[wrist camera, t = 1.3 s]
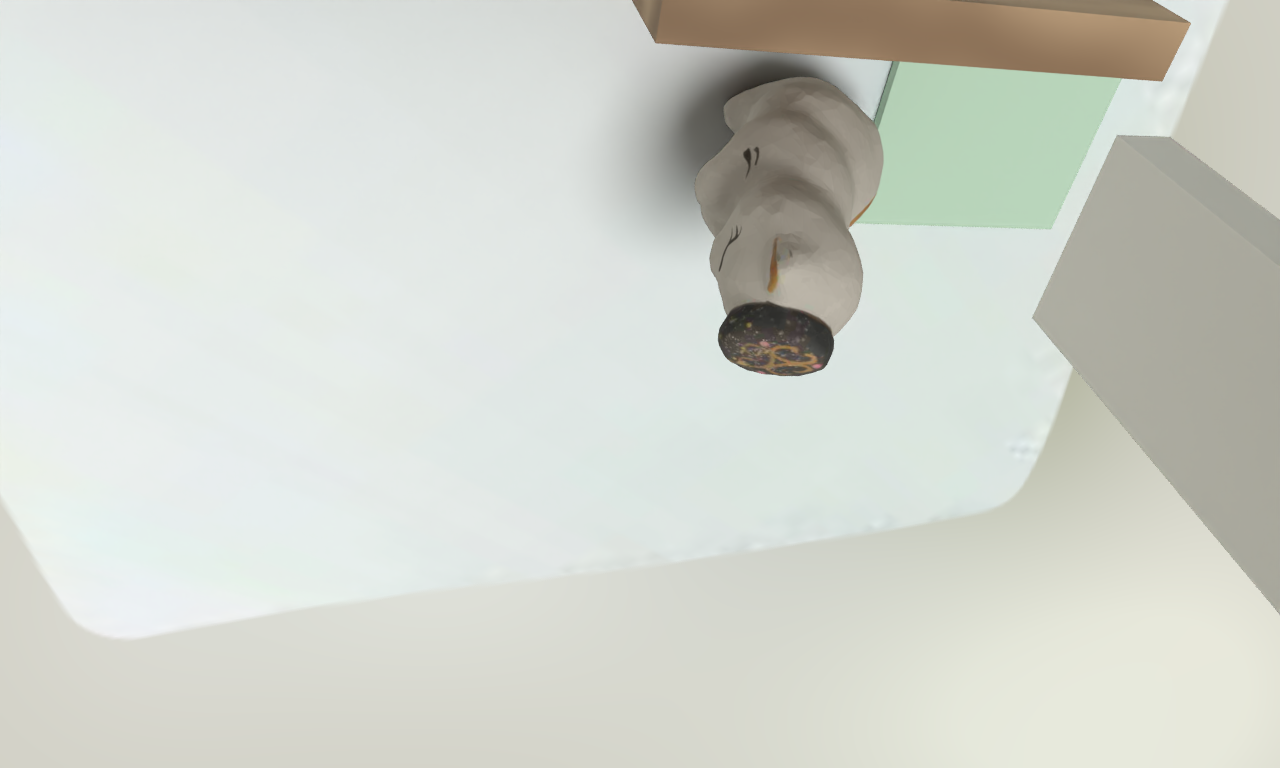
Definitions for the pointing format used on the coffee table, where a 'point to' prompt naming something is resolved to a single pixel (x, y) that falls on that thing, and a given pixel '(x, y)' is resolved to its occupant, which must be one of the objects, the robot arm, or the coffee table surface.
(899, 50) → the screen
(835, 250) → the figurine
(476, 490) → the coffee table surface
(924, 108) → the pad
